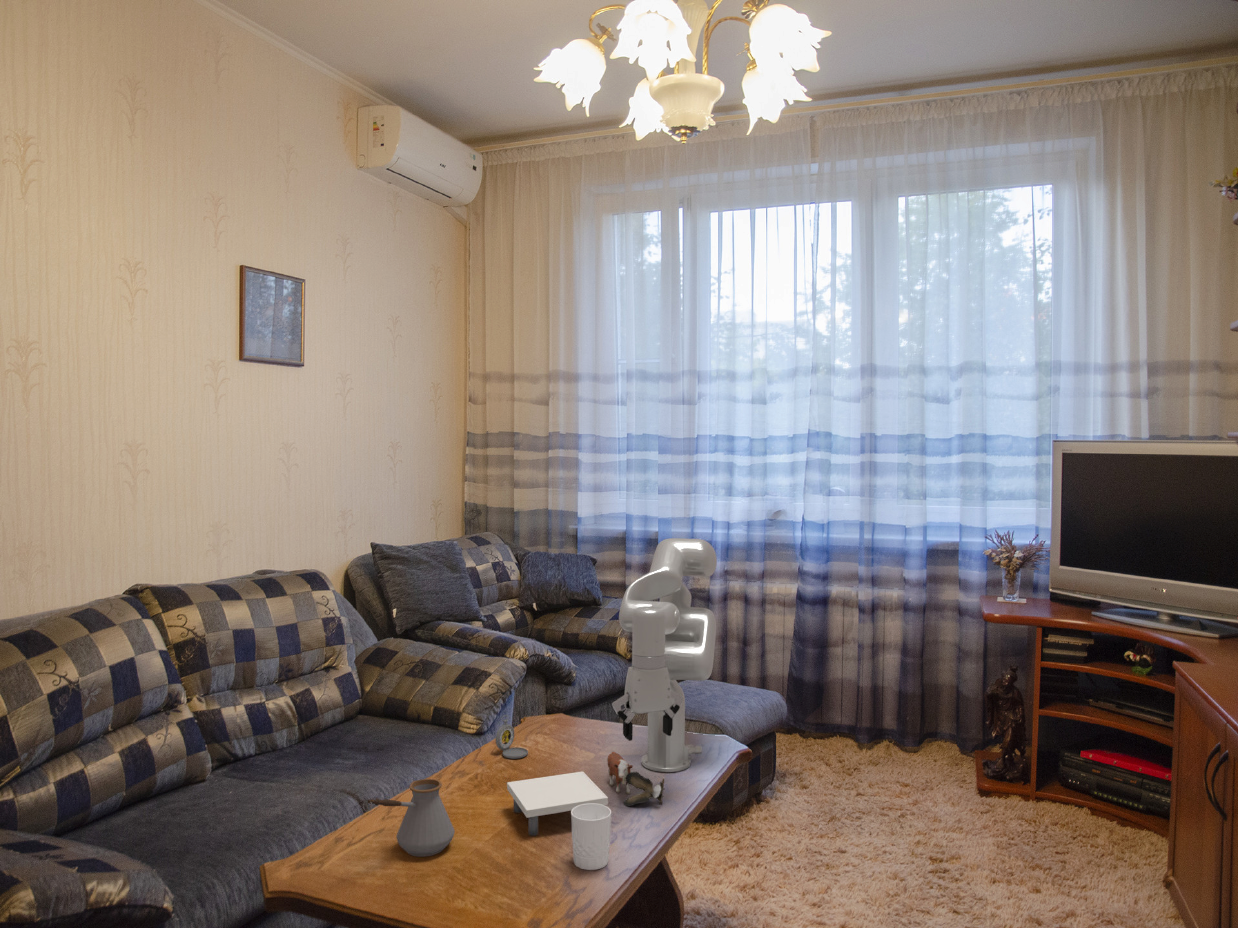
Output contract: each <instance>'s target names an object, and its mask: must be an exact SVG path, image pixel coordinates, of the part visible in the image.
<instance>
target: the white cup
mask: <svg viewBox="0 0 1238 928" xmlns="http://www.w3.org/2000/svg"><path fill="white" fill-rule="evenodd" d="M570 818H571V819H570V820H571V822H570V823H571V839H572V840H571V841H572V851H573V863H574V865H575V867H577V868H579V869H581V870H586V871H596V870H600V869H603V868H605V867H606V866H607V865H608V863H609V852H610V851H609V850H610V842H611V828H612V827H611V826H612V825H611V824H612V809H611V808H610V807H609V806H608V805H601V804H595V803H588V804H582V805H578V806H576V807H574V808H573V809H572V810H571V811H570Z"/></svg>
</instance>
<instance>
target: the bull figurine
mask: <svg viewBox="0 0 1238 928" xmlns="http://www.w3.org/2000/svg"><path fill="white" fill-rule="evenodd" d="M606 761H607V767H608V774H609V775H608V776H609V786H614V785H615V784H614V779H613V776H614V777H615V783H616V789H615V792H616V793H618V794H620V793H621V790H620V788H621V787H620V784H621V783H622V784H625V787H626V791H625V793H626V794H627V795H630V794H631V790H630V784H628V782H627V781H626V779H625V778H626V775H627V774H629V772H630V773H631V769H633V767H634V766H633V765H632V764H629V762H628V761H626V760H625V759H624V758H623V756H622V755H620V754H619V753H617V752H615V751H611V753H610V754H608V756H607V760H606Z"/></svg>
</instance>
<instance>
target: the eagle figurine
mask: <svg viewBox="0 0 1238 928" xmlns="http://www.w3.org/2000/svg"><path fill="white" fill-rule="evenodd" d="M625 779H626V781H627V782H628V784H629V786H632V787H633V788H635V789H638V790H641V791H643V792H641V793H637V794H634V795H632V796H631V797H628V798H627V799H624V801H622V804H623V805H624V806H627V807H631V806H634V805H637V804H640V803H644V804H645V803H646V802H649V800H650V799H651V798H652V799H654V800H655V799H656V800H657V801H658V802H659V804H660V805H662V804H663V801H662V798H664V797H665V796H664V795H663V793H664V790H665V778H663V779H662V781H660V782H659V783H658V784H656V785H655V786H654V783H653V782H652V781H651V779H650V778H648V777H645V776H644V775H641V774H640V773H639V771H632V772H631V773H630V772H629V774H627V775H626V778H625ZM626 781H625V782H626Z"/></svg>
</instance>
